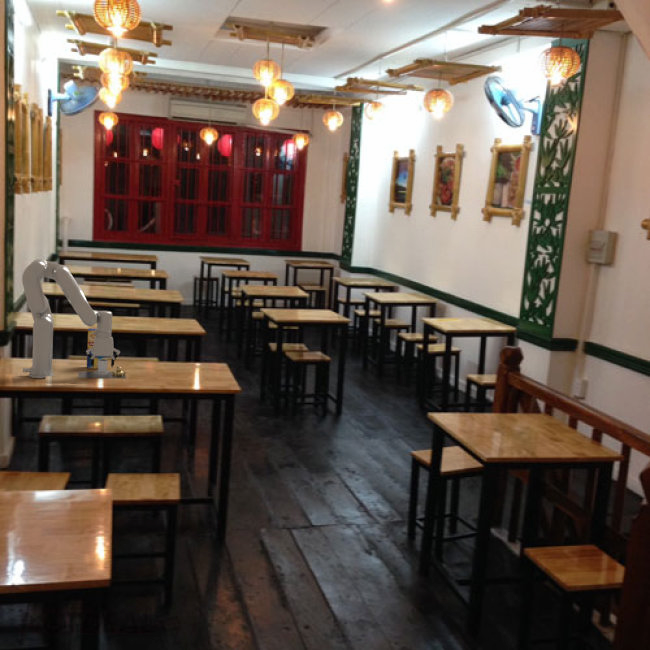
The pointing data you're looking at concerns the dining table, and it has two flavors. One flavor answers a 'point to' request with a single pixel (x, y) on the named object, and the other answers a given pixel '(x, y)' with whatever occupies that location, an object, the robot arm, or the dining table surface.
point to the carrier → (113, 374)
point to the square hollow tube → (102, 368)
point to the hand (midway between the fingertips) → (102, 366)
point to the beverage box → (90, 345)
